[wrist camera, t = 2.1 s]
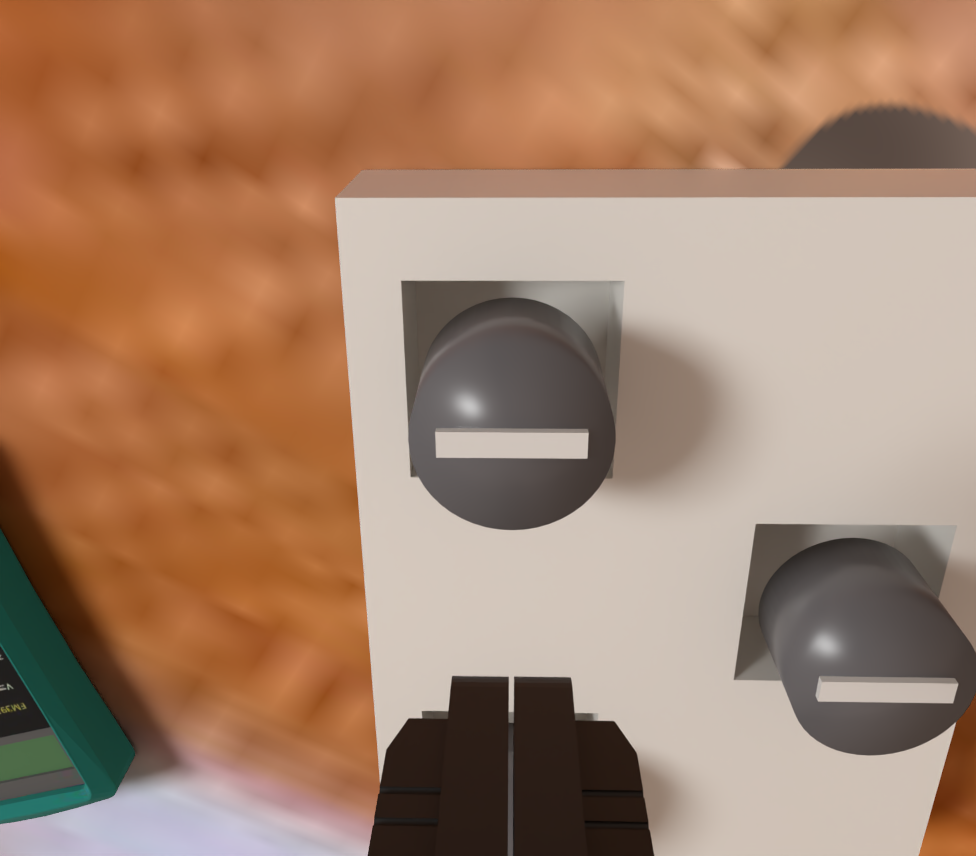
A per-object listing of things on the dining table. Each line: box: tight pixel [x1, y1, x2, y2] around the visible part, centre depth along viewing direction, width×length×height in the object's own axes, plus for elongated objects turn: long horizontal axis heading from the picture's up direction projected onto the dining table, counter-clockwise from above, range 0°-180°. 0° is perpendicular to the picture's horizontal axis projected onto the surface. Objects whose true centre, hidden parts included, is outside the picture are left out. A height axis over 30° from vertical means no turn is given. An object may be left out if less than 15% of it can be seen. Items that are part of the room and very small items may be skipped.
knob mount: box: [335, 169, 976, 856], centre depth 26 cm, size 22×17×4 cm
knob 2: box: [758, 538, 976, 756], centre depth 23 cm, size 4×4×3 cm
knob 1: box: [408, 297, 616, 530], centre depth 20 cm, size 4×4×3 cm
